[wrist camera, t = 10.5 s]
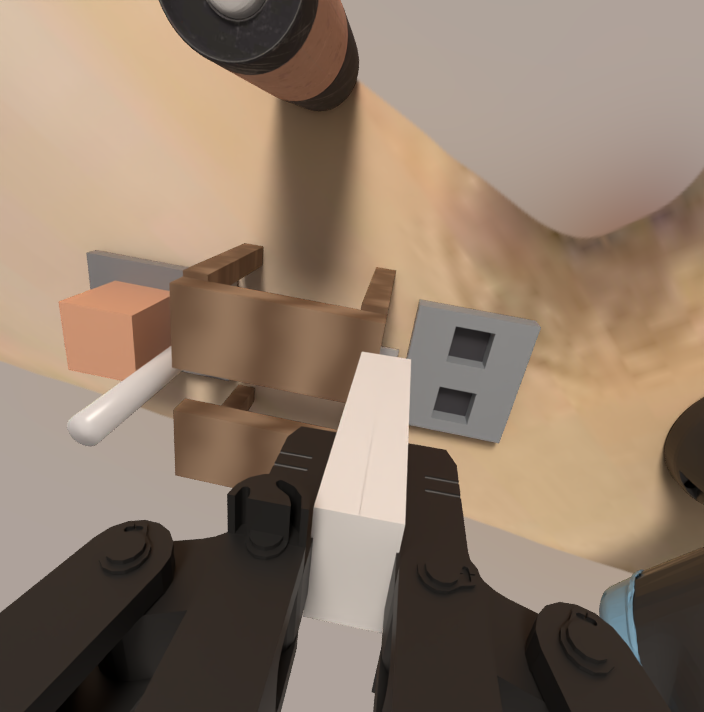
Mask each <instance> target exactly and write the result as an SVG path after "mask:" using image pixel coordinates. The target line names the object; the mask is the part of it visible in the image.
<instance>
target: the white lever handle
mask: <svg viewBox="0 0 704 712" xmlns="http://www.w3.org/2000/svg"><path fill="white" fill-rule="evenodd" d="M87 262H88V271H89V280H90V289H91V290H89V291H86V292H83V293H80V294H78V295H75V296H72V297H70V298H67V299H64V300H62V301H59V308H60V314H61V321H62V328H63V335H64V342H65V348H66V355H67V362H68V369H69V370H72V371H77V372H82V373H87V374H92V375H97V376H101V377H106V378H111V379H116V380H121V381H122V382H120V383H119V384H117V385H116V386H115V387H113V388H112V389H110V390H109V391H108V392H106V393H105V394H104V395H102V396H101V397H99V398H98V399H97V400H95V401H94V402H93V403H91V404H90V405H88V406H87V407H86V408H84V409H83V410H81V411H80V412H79V413H77V414H76V415H74V416H73V417H72V418H70V419H69V421H68V423H67V429H68V431H69V434H70V435H71V437H72V438H73V439H74V440H76V441H77V442H78V443H80V444H82V445H85V446H95V445H97V444H98V443H99V442H100V441H102V440H103V439H104V438H105V437H106V436H107V435H108V434H109V433H111V432H112V431H113V430H114V429H115V428H117V427H118V426H119V425H120V424H121V423H122V422H124V421H125V420H126V419H127V418H128V417H129V416H130V415H132V413H134V412H135V411H136V410H137V409H139V408H140V407H141V406H142V405H143V404H144V403H145V402H147V401H148V400H149V399H150V398H151V397H152V396H154V395H155V394H156V393H157V392H158V391H159V390H161V389H162V388H163V387H164V386H165V385H166V384H167V383H169V382H170V381H171V380H172V379H173V378H174V377H176V376H177V375H178V374H179V373H180V372H181V371H182V372H187V373H192V374H197V375H202V376H207V377H212V378H216V379H221V380H226V381H229V380H230V379H225V378H220V377H215V376H210V375H205V374H200V373H195V372H190V371H185V370H181V369H176V368H172V352H171V321H170V289H169V283H170V282H172V281H174V280H176V279H179V278H181V277H183V270H184V269H187V268H189V267H184V266H179V265H173V264H168V263H162V262H157V261H152V260H146V259H141V258H136V257H130V256H125V255H120V254H114V253H109V252H104V251H98V250H95V251H91V252H87ZM231 286H236V287H237V282H235V283H233V284H232V285H231Z"/></svg>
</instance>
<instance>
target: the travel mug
mask: <svg viewBox="0 0 704 712" xmlns="http://www.w3.org/2000/svg"><path fill="white" fill-rule="evenodd" d="M159 2H160V4H161V7H162V9H163V11H164V13H165V15H166V17H167V19H168V20H169V22H170V24H171V25H172V27H173V28H174V29H175V31H176V32H177V33H178V35H179V36H180V37H181V38H182V39H183V40H184V41H185V42H186V43H187V44H188V45H189V46H190V47H191V48H192V49H193V50H195V51H196V52H197V53H199V54H200V55H202V56H203V57H205V58H207V59H208V60H210V61H212V62H214V63H216V64H217V65H219V66H221V67H223V68H225V69H226V70H228V71H230V72H232V73H234V74H235V75H237V76H239V77H241V78H243V79H244V80H246V81H248V82H250V83H252V84H253V85H255V86H257V87H259V88H261V89H262V90H264V91H266V92H268V93H270V94H271V95H273V96H275V97H277V98H280V99H282V100H285V101H287V102H290V103H293V104H295V105H298V106H300V107H303V108H306V109H309V110H313V111H326V110H329V109H332V108H334V107H336V106H338V105H339V104H341V103H342V102H343V101H344V100H345V99H346V98H347V97H348V95H349V94H350V93H351V91H352V89H353V87H354V85H355V83H356V80H357V76H358V70H359V56H358V50H357V46H356V42H355V39H354V36H353V33H352V30H351V28H350V25H349V22H348V19H347V16H346V13H345V10H344V8H343V5H342V3H341V0H159Z"/></svg>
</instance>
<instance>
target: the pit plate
mask: <svg viewBox="0 0 704 712" xmlns="http://www.w3.org/2000/svg"><path fill="white" fill-rule="evenodd" d="M540 329H541V327H540V326H539V324H538V323H537V322H536V321H534V320H528V319H523V318H518V317H512V316H507V315H501V314H496V313H491V312H485V311H480V310H474V309H469V308H464V307H458V306H453V305H447V304H442V303H437V302H431V301H426V300H419V304H418V309H417V313H416V318H415V322H414V327H413V331H412V335H411V340H410V344H409V349H408V353H407V358H406V359H411V377H410V405H409V425H412V426H417V427H422V428H427V429H432V430H437V431H441V432H446V433H451V434H456V435H461V436H466V437H471V438H476V439H481V440H485V441H490V442H495V443H499V442H500V439H501V437H502V434H503V431H504V428H505V426H506V423H507V420H508V417H509V414H510V412H511V409H512V406H513V403H514V401H515V398H516V395H517V392H518V390H519V387H520V384H521V381H522V378H523V376H524V373H525V370H526V367H527V365H528V362H529V359H530V356H531V354H532V351H533V348H534V345H535V342H536V340H537V337H538V334H539V331H540Z"/></svg>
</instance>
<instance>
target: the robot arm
mask: <svg viewBox="0 0 704 712" xmlns="http://www.w3.org/2000/svg"><path fill="white" fill-rule="evenodd" d="M410 377H411V359H405V358H399V357H393V356H387V355H380V354H374V353H368V352H362V353H361V356H360V359H359V363H358V366H357V369H356V372H355V376H354V379H353V382H352V385H351V388H350V392H349V395H348V398H347V401H346V405H345V408H344V411H343V414H342V417H341V421H340V424H339V427H338V430H337V432H333V431H327V430H321V429H316V428H310V427H304V426H301V427H300V428H298V429H297V430H296V431H294V432H293V433H292V434H290V435H289V436H288V437H287V438H286V441H285V443H284V445H283V447H282V449H281V451H280V454H279V455H278V457H277V459H276V461H275V464H274V466H273V467H272V469H271V471H270V473H269V474H262V475H257V476H252V477H249V478H247V479H245V480H243V481H241V482H239V483H238V484H236V485H235V486H234V487H233V488H232V490H231V491H230V492H229V493H228V494H227V502H228V503H227V505H228V532H227V533H224V534H221V535H218V536H216V537H210V538H204V539H195V540H183V541H173V540H172V537H171V534H170V532H169V530H167V529H166V528H165V527H163V526H162V525H161V524H159V523H156V522H151V521H147V520H139V521H128V522H125V523H122V524H119V525H116V526H113V527H110V528H109V529H107V530H105V531H104V532H102V533H100V534H99V535H97V536H96V537H94V538H93V539H92V540H90V541H89V542H88V543H87V544H85V545H84V546H83V547H82V548H80V549H79V550H78V551H77V552H75V554H73V555H72V556H70V557H69V558H68V559H67V560H65V561H64V562H63V563H62V564H61V565H59V566H58V567H57V568H56V569H54V570H53V571H52V572H50V573H49V574H48V575H47V576H45V577H44V578H43V579H42V580H40V582H38V583H37V584H35V585H34V586H33V587H32V588H31V589H29V590H28V591H27V592H26V593H24V594H23V595H22V596H21V597H19V598H18V599H17V600H16V601H14V602H13V603H12V604H11V605H9V606H8V607H7V608H6V609H4V610H3V611H2V612H1V613H0V712H281V709H282V704H283V701H284V697H285V693H286V689H287V685H288V680H289V677H290V673H291V669H292V665H293V661H294V657H295V653H296V649H297V638H298V630H299V625H300V622H301V618H302V614H303V616H304V617H308V618H312V619H317V620H322V621H326V622H331V623H336V624H341V625H345V626H350V627H355V628H359V629H364V630H368V631H373V632H378V633H382V629H383V633H382V647H381V651H380V656H379V661H378V665H377V670H376V674H375V679H374V683H373V688H372V692H373V693H375V699H374V710H373V712H704V547H702V548H700V549H697V550H695V551H692V552H690V553H687V554H685V555H682V556H680V557H677V558H675V559H672V560H670V561H667V562H664V563H662V564H659V565H657V566H654V567H652V568H649V569H647V570H639V571H636V572H635V573H634V574H633V575H632V577H630V578H628V579H626V580H623V581H621V582H619V583H617V584H615V585H613V586H611V587H609V588H608V589H607V590H606V591H605V592H604V593H603V596H602V598H601V603H600V608H599V614H600V617H599V616H598V615H596V614H595V613H593V612H591V611H589V610H587V609H584V608H582V607H580V606H578V605H575V604H569V603H563V602H558V603H554V604H550V605H546V606H545V607H544V608H543V609H542V611H541V612H540V613H539V614H538V613H536V612H533V611H532V610H529V609H528V608H526V607H523V606H521V605H519V604H517V603H515V602H513V601H511V600H509V599H508V598H505V597H504V596H502V595H501V594H499V593H498V592H496V591H495V590H493V589H492V588H491V587H490V586H489V585H488V584H486V583H485V582H484V581H483V579H482V578H481V577H480V575H479V572H478V569H477V568H476V567H475V565H474V564H473V563H472V562H471V560H470V558H469V554H468V549H467V541H466V534H465V526H464V518H463V511H462V503H461V498H460V488H459V485H458V482H459V480H458V472H457V465H456V464H455V462H454V461H453V459H452V458H451V457H450V455H449V454H448V452H447V451H446V450H443V449H438V448H432V447H426V446H421V445H415V444H409V443H408V432H409V405H410ZM665 461H666V465H667V468H668V470H669V472H670V474H671V475H672V476H673V478H674V479H675V480H676V481H677V482H678V484H679V485H680V486H681V487H682V488H683V489H684V491H685V492H686V493H687V494H689V495H690V496H691V497H692V498H694V499H695V500H696V501H698V502H700V503H701V504H703V505H704V398H702V399H701V400H699V401H697V402H696V403H695V404H693V405H692V406H691V407H690V408H688V409H687V410H686V411H685V412H684V413H683V414H682V415H681V416H680V417H679V419H678V420H677V421H676V423H675V424H674V425H673V427H672V429H671V431H670V433H669V435H668V437H667V440H666V444H665ZM303 610H304V613H303Z"/></svg>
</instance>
